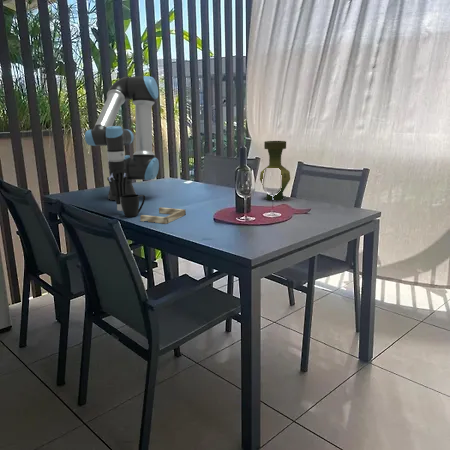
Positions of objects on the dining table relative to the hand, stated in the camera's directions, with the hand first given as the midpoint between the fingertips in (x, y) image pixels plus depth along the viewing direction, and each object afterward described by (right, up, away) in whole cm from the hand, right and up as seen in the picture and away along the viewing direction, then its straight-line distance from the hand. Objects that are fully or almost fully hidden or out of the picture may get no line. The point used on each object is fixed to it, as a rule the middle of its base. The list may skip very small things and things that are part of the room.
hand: (120, 210), depth 212 cm
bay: (+21, -4, -8) cm, 23 cm away
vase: (+76, +7, +26) cm, 81 cm away
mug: (+7, -3, -2) cm, 8 cm away
